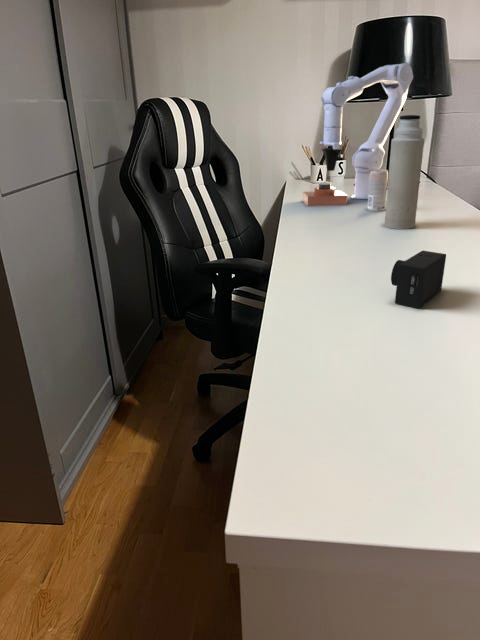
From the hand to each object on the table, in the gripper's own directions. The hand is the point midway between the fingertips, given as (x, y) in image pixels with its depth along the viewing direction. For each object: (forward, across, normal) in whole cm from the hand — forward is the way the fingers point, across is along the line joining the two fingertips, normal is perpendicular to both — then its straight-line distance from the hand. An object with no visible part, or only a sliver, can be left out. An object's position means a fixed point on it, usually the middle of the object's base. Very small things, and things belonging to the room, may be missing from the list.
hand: (330, 170), depth 168 cm
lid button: (+6, +2, -2) cm, 7 cm away
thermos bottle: (+11, +40, +11) cm, 42 cm away
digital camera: (+11, +93, -5) cm, 94 cm away
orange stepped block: (+10, +2, -2) cm, 11 cm away
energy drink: (+11, +17, +11) cm, 23 cm away
